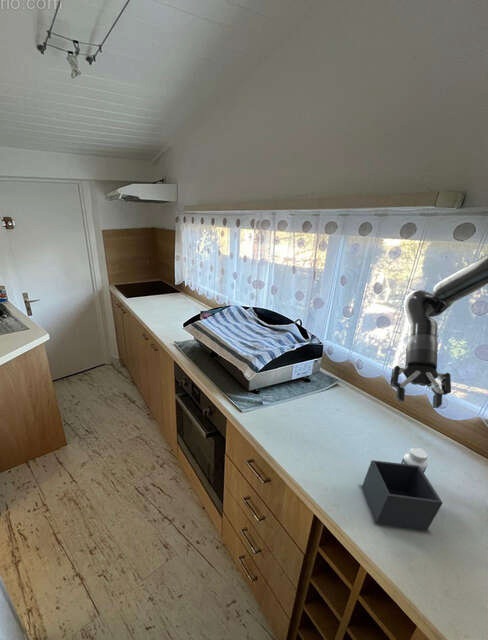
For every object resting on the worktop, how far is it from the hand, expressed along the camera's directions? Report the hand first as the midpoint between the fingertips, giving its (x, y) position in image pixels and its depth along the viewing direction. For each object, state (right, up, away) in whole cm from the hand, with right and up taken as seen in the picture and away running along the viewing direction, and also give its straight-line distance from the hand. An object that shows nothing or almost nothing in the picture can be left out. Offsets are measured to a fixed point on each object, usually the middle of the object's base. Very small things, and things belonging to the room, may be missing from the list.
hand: (418, 404), depth 88 cm
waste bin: (-14, -25, -9) cm, 30 cm away
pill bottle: (-4, -21, -1) cm, 21 cm away
